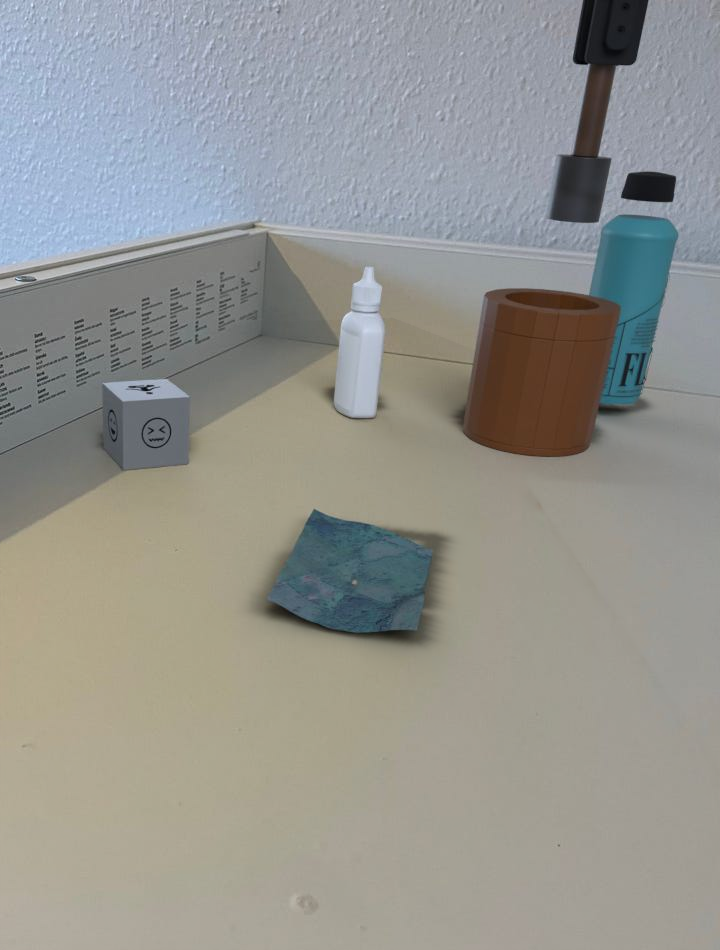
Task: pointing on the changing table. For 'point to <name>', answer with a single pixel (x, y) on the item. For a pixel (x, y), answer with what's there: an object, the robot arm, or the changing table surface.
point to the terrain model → (353, 577)
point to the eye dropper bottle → (360, 351)
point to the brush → (584, 155)
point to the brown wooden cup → (539, 370)
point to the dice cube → (146, 423)
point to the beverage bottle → (634, 282)
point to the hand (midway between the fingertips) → (603, 62)
